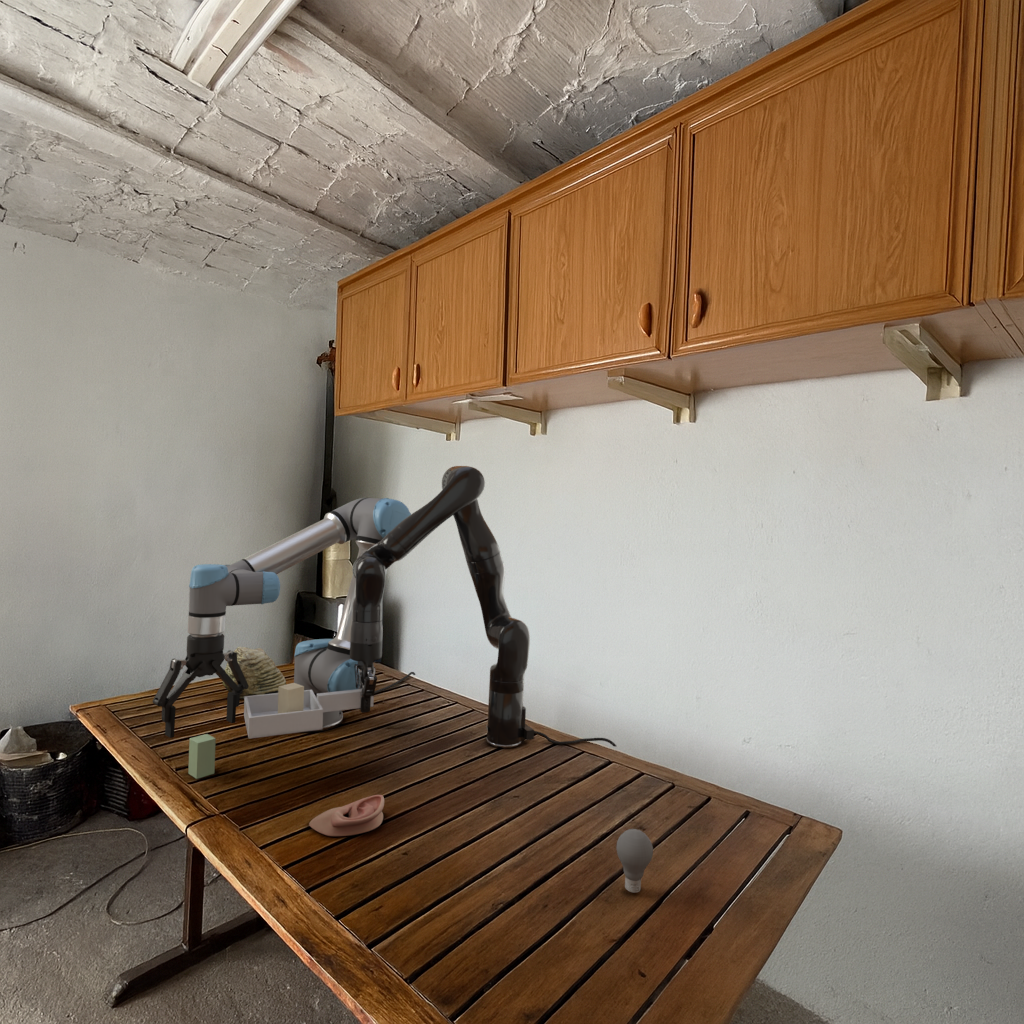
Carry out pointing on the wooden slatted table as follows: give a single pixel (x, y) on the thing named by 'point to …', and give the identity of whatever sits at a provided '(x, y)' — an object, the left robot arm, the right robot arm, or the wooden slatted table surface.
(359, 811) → the anatomical model
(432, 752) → the wooden slatted table surface
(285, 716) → the tray
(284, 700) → the block
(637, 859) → the light bulb
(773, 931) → the wooden slatted table surface
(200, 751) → the block
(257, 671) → the fossil
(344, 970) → the wooden slatted table surface
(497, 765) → the wooden slatted table surface
